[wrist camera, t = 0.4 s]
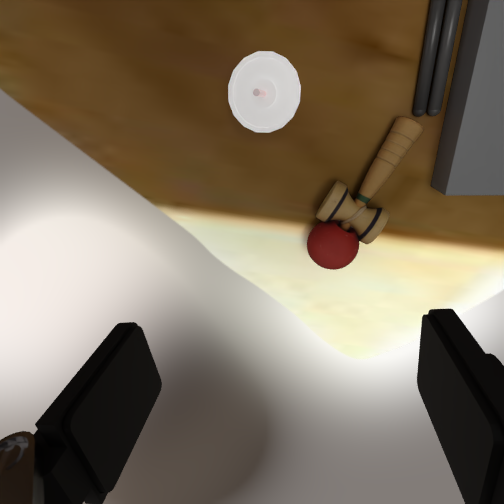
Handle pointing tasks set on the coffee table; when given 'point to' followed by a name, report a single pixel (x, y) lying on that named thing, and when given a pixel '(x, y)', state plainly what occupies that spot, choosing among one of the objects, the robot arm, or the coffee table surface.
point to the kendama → (358, 204)
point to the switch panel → (466, 96)
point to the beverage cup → (264, 91)
